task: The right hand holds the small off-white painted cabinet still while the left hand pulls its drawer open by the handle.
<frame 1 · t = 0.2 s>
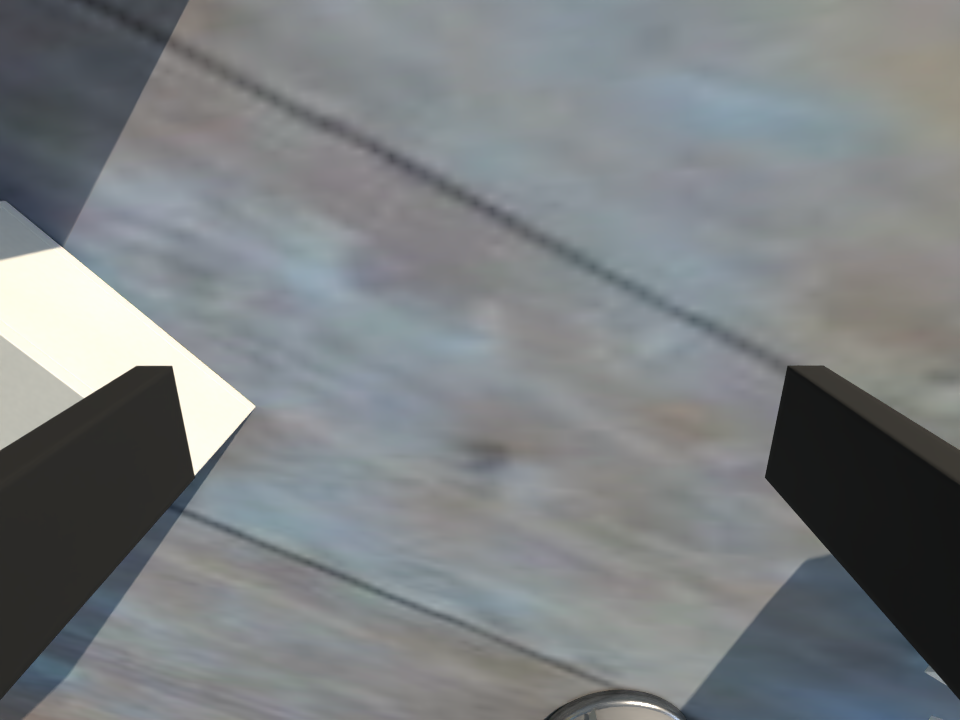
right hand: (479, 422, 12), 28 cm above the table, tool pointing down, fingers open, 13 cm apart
cabinet: (97, 358, 41), on the table
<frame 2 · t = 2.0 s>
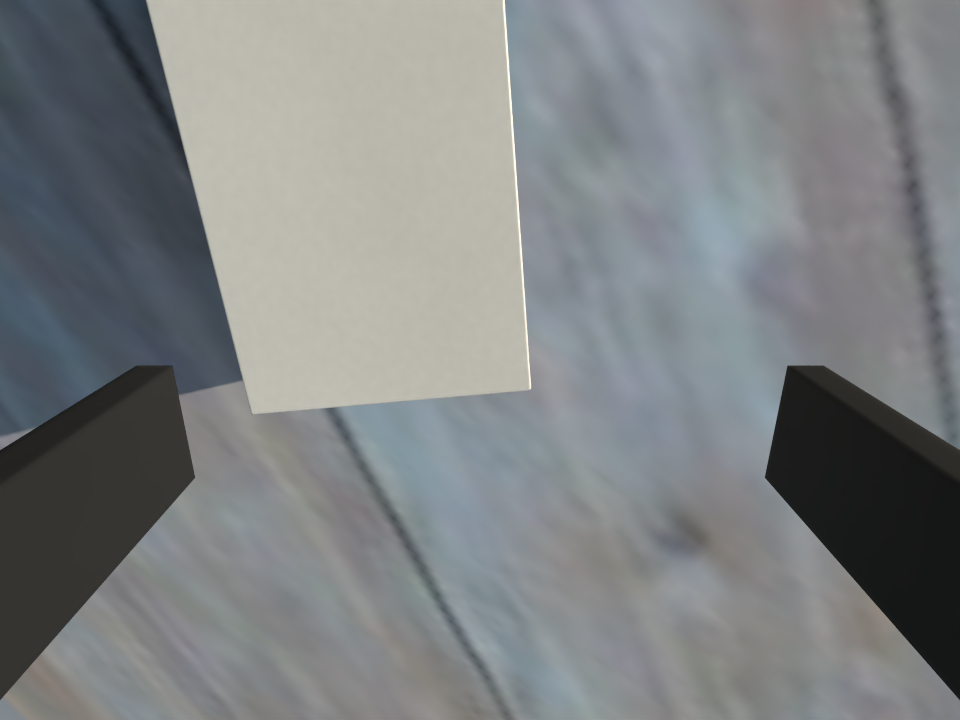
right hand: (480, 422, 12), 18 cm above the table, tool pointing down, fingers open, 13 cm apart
cabinet: (389, 118, 27), on the table
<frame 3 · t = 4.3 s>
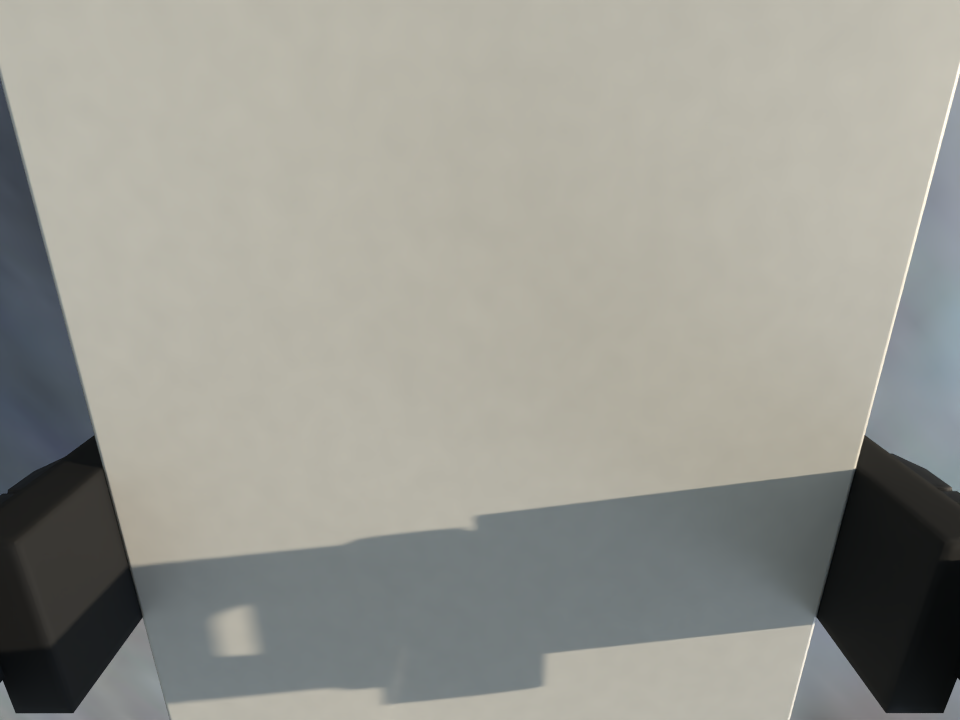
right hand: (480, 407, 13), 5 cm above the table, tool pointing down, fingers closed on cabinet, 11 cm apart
cabinet: (479, 101, 16), on the table, touching right hand
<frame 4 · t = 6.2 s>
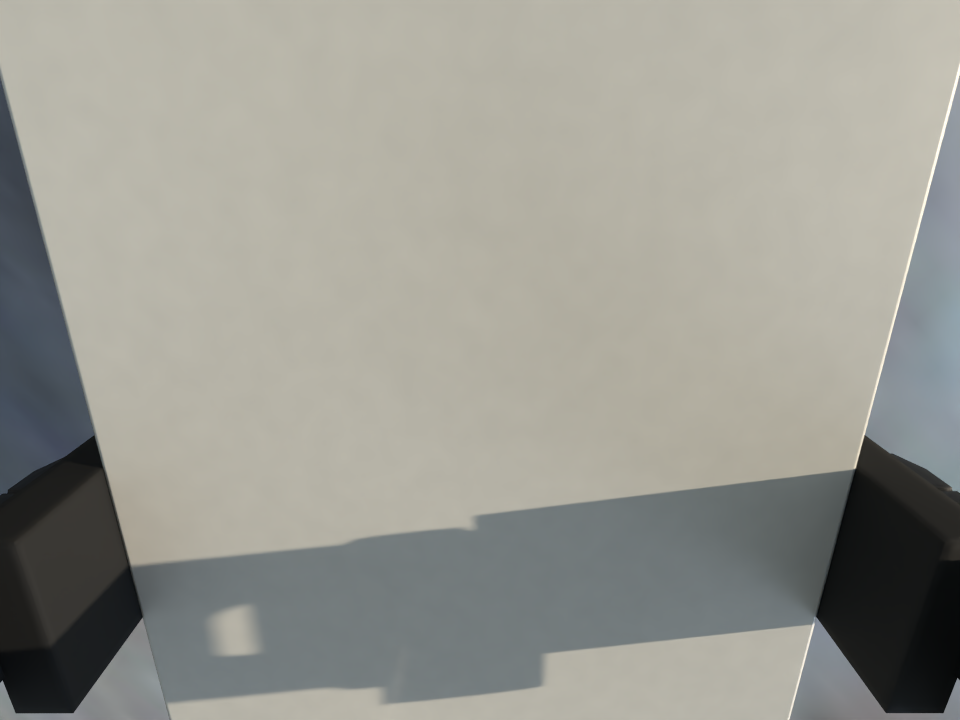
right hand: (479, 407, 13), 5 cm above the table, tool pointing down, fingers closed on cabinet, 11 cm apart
cabinet: (479, 101, 16), on the table, touching right hand
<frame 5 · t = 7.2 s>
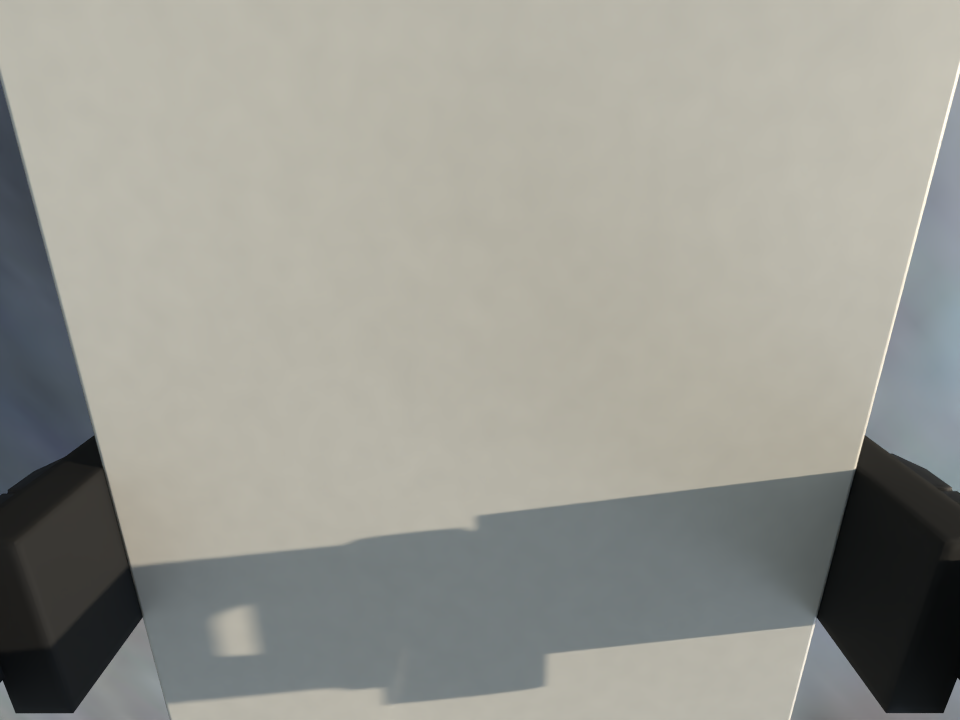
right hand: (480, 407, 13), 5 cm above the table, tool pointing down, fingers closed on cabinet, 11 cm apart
cabinet: (479, 101, 16), on the table, touching right hand
when the right hand's fingers open (5 cm above the table, at t = 8.8 s): cabinet stays where it is, on the table.
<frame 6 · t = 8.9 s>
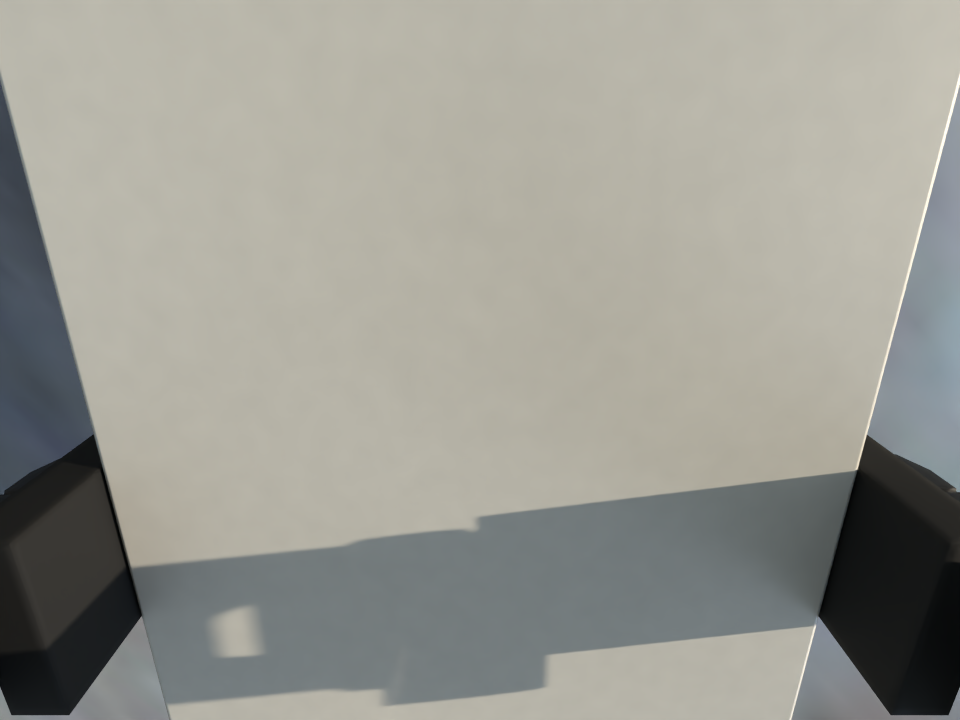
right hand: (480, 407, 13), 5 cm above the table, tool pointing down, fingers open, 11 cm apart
cabinet: (480, 100, 16), on the table
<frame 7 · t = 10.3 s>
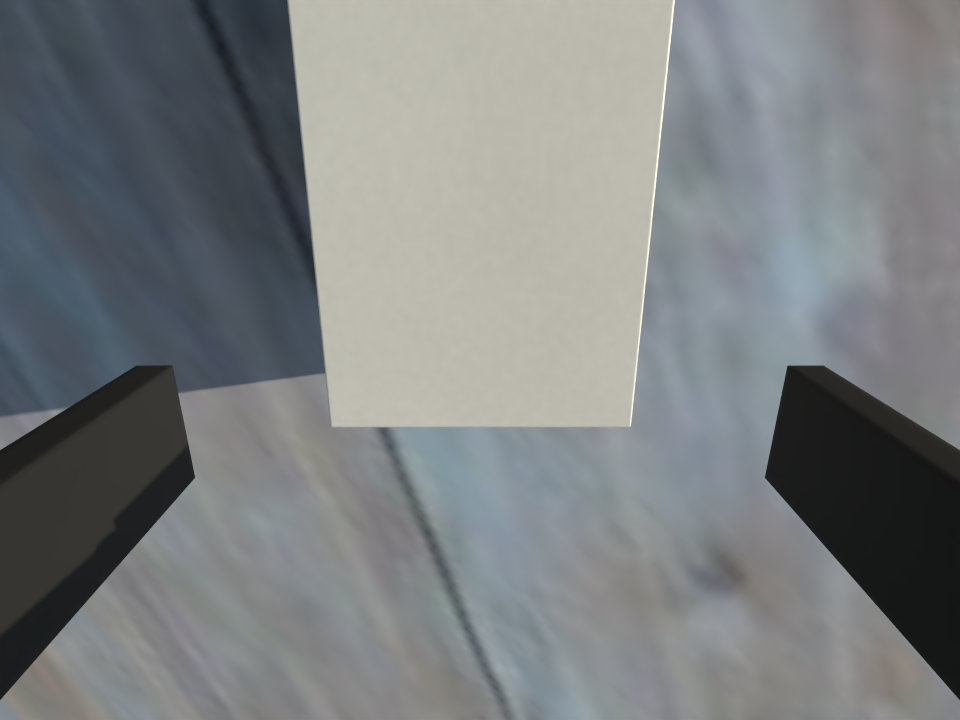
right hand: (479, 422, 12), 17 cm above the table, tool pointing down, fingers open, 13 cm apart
cabinet: (480, 120, 26), on the table
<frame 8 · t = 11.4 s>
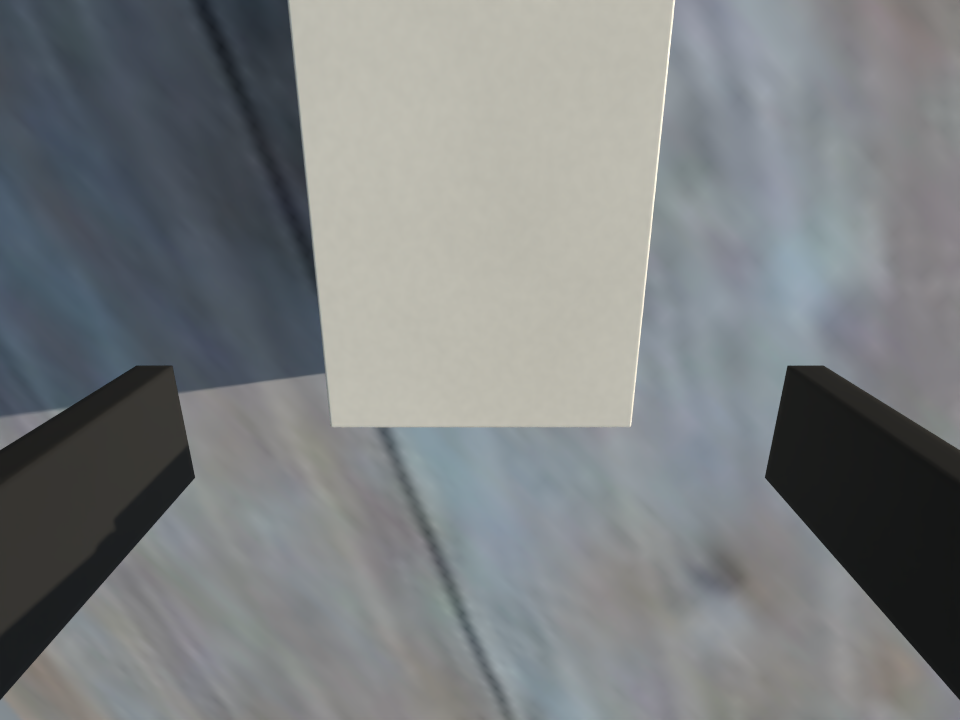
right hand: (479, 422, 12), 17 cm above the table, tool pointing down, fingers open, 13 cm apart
cabinet: (480, 120, 26), on the table
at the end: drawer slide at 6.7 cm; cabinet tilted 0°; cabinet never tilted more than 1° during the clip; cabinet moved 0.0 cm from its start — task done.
